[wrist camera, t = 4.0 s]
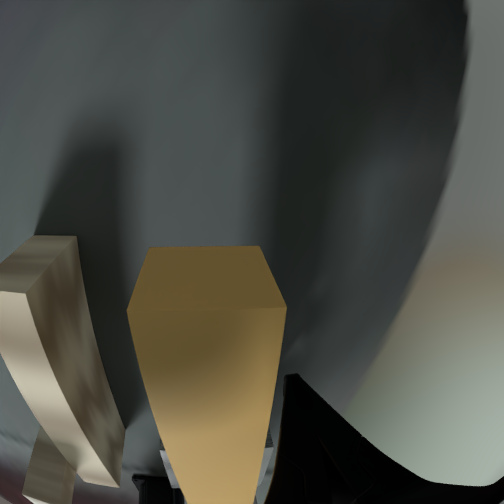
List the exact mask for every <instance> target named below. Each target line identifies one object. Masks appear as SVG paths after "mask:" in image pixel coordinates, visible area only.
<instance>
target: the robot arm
mask: <svg viewBox="0 0 504 504" xmlns="http://www.w3.org/2000/svg"><path fill="white" fill-rule="evenodd" d="M283 396H284V401H283V409H282V417H281V425H280V432H279V439H278V447H277V454H276V459H275V466H274V471H273V476H272V480H271V483H270V486H269V490H268V493H267V496H266V498H265V501H264V504H504V476H503V477H502V478H501V479H499V480H498V481H497V482H495V483H494V484H491V485H488V486H464V485H453V484H443V483H435V482H431V481H428V480H425V479H423V478H421V477H419V476H417V475H416V474H414V473H413V472H411V471H409V470H408V469H406V468H405V467H403V466H402V465H400V464H398V463H397V462H395V461H394V460H392V459H391V458H389V457H388V456H387V455H385V454H384V453H382V452H381V451H380V450H379V449H377V448H376V447H375V446H374V445H373V444H371V443H370V442H369V441H368V440H367V439H366V438H365V437H362V435H361V434H360V433H359V432H358V431H357V430H356V429H355V428H354V427H353V426H351V425H350V424H349V423H348V422H347V421H346V420H345V419H344V418H343V417H342V416H341V415H340V414H339V413H337V412H336V411H335V410H334V409H333V408H332V407H331V406H330V405H329V404H328V403H327V402H326V401H325V400H324V399H323V398H322V397H321V396H320V395H319V394H317V393H316V392H315V391H314V390H313V389H312V388H311V387H310V386H309V385H308V384H307V383H306V382H305V381H304V380H303V379H302V378H301V377H300V375H299V374H298V373H295V374H288V375H285V377H284V385H283ZM132 481H133V483H134V484H135V486H136V488H137V489H138V491H139V504H185V500H184V495H183V492H182V490H181V488H172V486H171V484H170V481H169V479H162V478H148V477H137V476H133V477H132Z"/></svg>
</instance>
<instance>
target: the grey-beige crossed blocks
mask: <svg viewBox="0 0 504 504" xmlns="http://www.w3.org/2000/svg"><path fill="white" fill-rule="evenodd" d="M0 353H1V355H2V357H3V359H4V361H5V363H6V365H7V368H8V369H9V371H10V373H11V375H12V377H13V379H14V381H15V383H16V385H17V387H18V388H19V390H20V392H21V394H22V395H23V397H24V399H25V401H26V402H27V404H28V406H29V407H30V409H31V410H32V412H33V414H34V415H35V417H36V418H37V420H38V421H39V423H40V424H41V426H40V429H39V432H38V435H37V438H36V442H35V445H34V448H33V452H32V455H31V459H30V463H29V467H28V470H27V474H26V478H25V483H24V487H23V492H22V494H23V495H24V496H25V497H26V498H28V499H29V500H30V501H31V502H33V503H34V504H71V502H72V495H73V488H74V482H75V476H76V472H77V473H78V474H79V476H80V477H81V478H82V479H83V480H84V481H85V482H89V483H94V484H100V485H105V486H111V487H118V488H120V476H121V466H122V456H123V447H124V439H125V431H126V430H125V428H124V425H123V423H122V420H121V418H120V415H119V412H118V410H117V407H116V404H115V401H114V398H113V395H112V393H111V390H110V387H109V383H108V380H107V377H106V374H105V371H104V367H103V364H102V361H101V357H100V353H99V350H98V346H97V342H96V338H95V334H94V330H93V326H92V322H91V317H90V313H89V308H88V303H87V299H86V293H85V288H84V282H83V277H82V271H81V264H80V257H79V250H78V242H77V236H50V235H33V236H32V237H31V238H29V239H28V240H27V241H26V242H25V243H23V244H22V245H21V246H20V247H19V248H18V249H16V250H15V251H14V252H13V253H12V254H11V255H10V256H9V257H7V258H6V259H5V260H4V261H3V262H2V263H1V264H0Z"/></svg>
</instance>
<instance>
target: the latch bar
mask: <svg viewBox="0 0 504 504" xmlns="http://www.w3.org/2000/svg"><path fill="white" fill-rule="evenodd" d="M286 311H287V306H286V304H285V301H284V299H283V297H282V295H281V293H280V290H279V288H278V286H277V284H276V282H275V279H274V277H273V275H272V273H271V271H270V268H269V266H268V264H267V262H266V260H265V257H264V255H263V253H262V251H261V249H260V246H200V247H149V250H148V252H147V255H146V258H145V260H144V263H143V266H142V268H141V271H140V274H139V276H138V279H137V282H136V285H135V288H134V291H133V293H132V296H131V299H130V302H129V305H128V308H127V315H128V320H129V325H130V330H131V334H132V339H133V343H134V347H135V352H136V356H137V360H138V364H139V368H140V371H141V375H142V379H143V382H144V386H145V389H146V393H147V396H148V400H149V403H150V406H151V409H152V413H153V416H154V419H155V422H156V425H157V428H158V431H159V434H160V437H161V439H162V442H163V445H164V448H165V450H166V453H167V456H168V458H169V461H170V464H171V466H172V469H173V471H174V474H175V476H176V478H177V481H178V483H179V486H180V488H181V490H182V492H183V495H184V500H185V504H257V500H256V495H255V493H256V488H257V483H258V478H259V473H260V468H261V463H262V458H263V453H264V448H265V442H266V437H267V432H268V426H269V420H270V415H271V409H272V403H273V397H274V391H275V385H276V379H277V372H278V366H279V359H280V353H281V346H282V339H283V332H284V325H285V318H286Z"/></svg>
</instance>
